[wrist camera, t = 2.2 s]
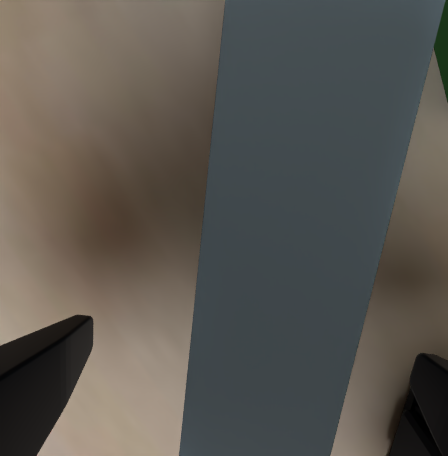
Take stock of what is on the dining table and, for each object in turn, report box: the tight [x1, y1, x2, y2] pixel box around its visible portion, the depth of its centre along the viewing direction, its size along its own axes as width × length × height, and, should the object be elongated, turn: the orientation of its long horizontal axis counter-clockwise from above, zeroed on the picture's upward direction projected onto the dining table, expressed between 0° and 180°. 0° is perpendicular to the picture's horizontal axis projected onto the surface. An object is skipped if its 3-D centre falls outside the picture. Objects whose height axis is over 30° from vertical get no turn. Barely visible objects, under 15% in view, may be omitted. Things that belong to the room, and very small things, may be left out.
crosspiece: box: [179, 0, 445, 456], centre depth 9 cm, size 14×3×8 cm, turn 173°
